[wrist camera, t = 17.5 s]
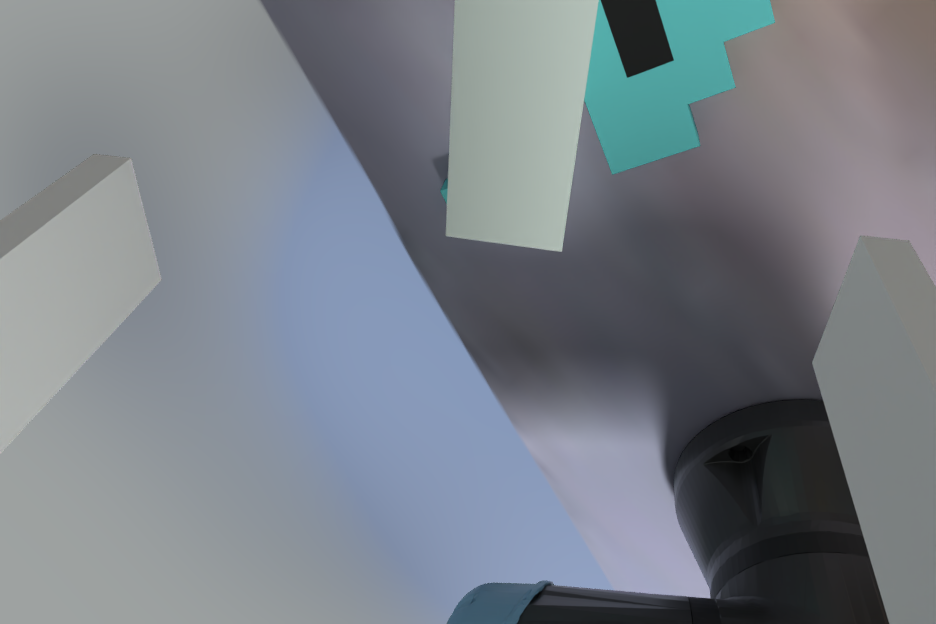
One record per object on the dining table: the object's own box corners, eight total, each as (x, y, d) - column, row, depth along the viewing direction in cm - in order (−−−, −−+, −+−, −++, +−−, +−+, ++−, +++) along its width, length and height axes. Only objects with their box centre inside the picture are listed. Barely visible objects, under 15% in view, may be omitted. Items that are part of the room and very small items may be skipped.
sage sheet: (583, 103, 37) (561, 251, 26) (502, 94, 37) (445, 236, 26) (626, -193, 30) (622, -167, 19) (525, -199, 30) (462, -179, 19)
